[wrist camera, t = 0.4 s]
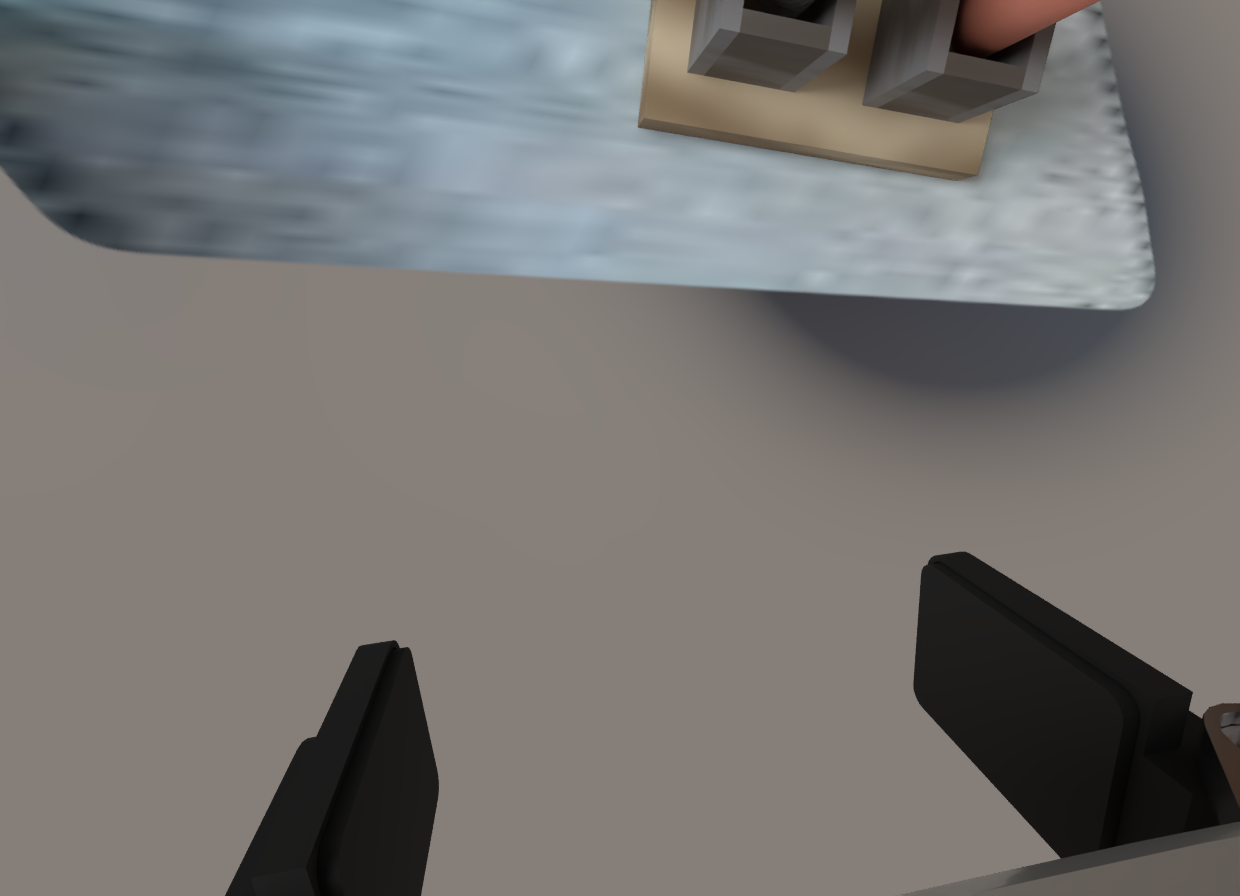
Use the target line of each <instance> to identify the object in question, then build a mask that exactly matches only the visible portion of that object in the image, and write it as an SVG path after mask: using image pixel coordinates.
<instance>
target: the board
mask: <svg viewBox="0 0 1240 896" xmlns="http://www.w3.org/2000/svg"><path fill="white" fill-rule="evenodd" d="M959 2H960V0H815V1H814V2H813V3H812V4H811V5H810V6H809V7H808V8H807V9H806V10H805V11H804V12H803V13H802V14H800V15H799V16H797V17H795V18H792V19H791V18H787V17H782V16H777V15H772V14H768V13H764V12H763V11H761V9H760V8H759V7H758V6H757V4H756V3H755V1H754V0H651V9H650V19H649V28H648V37H647V46H646V55H645V65H644V74H643V83H642V92H641V102H640V111H639V120H638V127H640V128H646V129H652V130H658V131H664V132H670V133H676V134H682V135H688V136H694V137H700V138H706V139H712V140H718V141H724V142H730V143H736V144H742V145H748V146H754V147H759V148H765V149H771V150H777V151H783V152H789V153H795V154H801V155H807V156H813V157H819V158H825V159H831V160H837V161H843V162H849V163H855V164H861V165H867V166H872V167H878V168H884V169H890V170H896V171H902V172H908V173H914V174H920V175H926V176H932V177H938V178H944V179H950V180H960V179H964V178H968V177H972V176H976V175H978V172H979V168H980V164H981V160H982V156H983V152H984V147H985V143H986V139H987V135H988V131H989V127H990V123H991V119H992V115H993V111H994V109H997V108H1000V107H1002V106H1005V105H1007V104H1010V103H1013V102H1015V101H1018V100H1020V99H1023V98H1026V97H1028V96H1031V95H1034V94H1036V93H1038V91H1039V87H1040V83H1041V79H1042V75H1043V71H1044V67H1045V64H1046V60H1047V56H1048V52H1049V48H1050V44H1051V40H1052V36H1053V33H1054V29H1055V25H1056V23H1054V24H1052V25H1050V26H1048V27H1046V28H1044V29H1042V30H1040V31H1038V32H1036V33H1034V34H1032V35H1030V36H1028V37H1026V38H1024V39H1022V40H1020V41H1018V42H1016V43H1014V44H1012V45H1010V46H1008V47H1006V48H1004V49H1002V50H1000V51H998V52H996V53H994V54H992V55H990V56H988V57H986V58H984V59H981V58H977V57H972V56H967V55H962V54H958V53H957V52H956V51H955V50H954V48H953V46H952V45H951V38H952V34H953V29H954V25H955V20H956V16H957V11H958V7H959Z"/></svg>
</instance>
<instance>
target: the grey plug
mask: <svg viewBox="0 0 1240 896" xmlns="http://www.w3.org/2000/svg"><path fill="white" fill-rule="evenodd" d="M754 1H755V3H756V4H757V6H758V7H759V8H760V9H761V11H763V12H764V13H768V14H772V15H777V16H782V17H787V18H791V19H792V18H795V17H797V16H799V15H800V14H802V13H803V12H804V11H805V10H806V9H807V8H808V7H809V6H810V5H811V4H812V3H813V2H814V1H815V0H754Z"/></svg>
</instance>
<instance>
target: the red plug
mask: <svg viewBox="0 0 1240 896" xmlns="http://www.w3.org/2000/svg"><path fill="white" fill-rule="evenodd" d="M1098 1H1100V0H960V2H959V7H958V11H957V16H956V20H955V25H954V29H953V34H952V38H951V45H952V46H953V48H954V50H955V51H956V52H957V53H958V54H962V55H967V56H972V57H977V58H981V59H984V58H986V57H988V56H990V55H992V54H994V53H996V52H998V51H1000V50H1002V49H1004V48H1006V47H1008V46H1010V45H1012V44H1014V43H1016V42H1018V41H1020V40H1022V39H1024V38H1026V37H1028V36H1030V35H1032V34H1034V33H1036V32H1038V31H1040V30H1042V29H1044V28H1046V27H1048V26H1050V25H1052V24H1054V23H1056V22H1058V21H1060V20H1062V19H1064V18H1066V17H1068V16H1070V15H1072V14H1074V13H1076V12H1078V11H1080V10H1082V9H1084V8H1086V7H1088V6H1090V5H1092V4H1094V3H1096V2H1098Z"/></svg>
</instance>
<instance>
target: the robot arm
mask: <svg viewBox="0 0 1240 896" xmlns="http://www.w3.org/2000/svg"><path fill="white" fill-rule="evenodd" d="M914 692H915V695H916V698H917V700H918V702H919V704H920V705H921V706H922V707H923V709H924V710H925V711H926V712H927V713H928V714H929V715H930V716H931V717H932V718H933V719H934V721H935V722H936V723H937V724H938V725H939V726H940V727H941V728H942V729H943V730H944V731H945V733H946V734H947V735H948V736H949V737H950V738H951V739H952V740H953V741H954V742H955V744H956V745H957V746H958V747H959V748H960V749H961V750H962V751H963V752H964V753H965V754H966V755H967V757H968V758H969V759H970V760H971V761H972V762H973V763H974V764H975V765H976V766H977V767H978V769H979V770H980V771H981V772H982V773H983V774H984V775H985V776H986V777H987V778H988V779H989V780H990V782H991V783H992V784H993V785H994V786H995V787H996V788H997V789H998V790H999V791H1000V792H1001V794H1002V795H1003V796H1004V797H1005V798H1006V799H1007V800H1008V801H1009V802H1010V803H1011V804H1012V805H1013V806H1014V808H1015V809H1016V810H1017V811H1018V812H1019V813H1020V814H1021V815H1022V816H1023V817H1024V819H1025V820H1026V821H1027V822H1028V823H1029V824H1030V825H1031V826H1032V827H1033V828H1034V829H1035V830H1036V832H1037V833H1038V834H1039V835H1040V836H1041V837H1042V838H1043V839H1044V840H1045V841H1046V842H1047V843H1048V844H1049V846H1050V847H1051V848H1052V849H1053V850H1054V851H1055V852H1056V853H1057V854H1058V855H1059V857H1060V858H1061V859H1058V860H1053V861H1049V862H1044V863H1040V864H1035V865H1031V866H1026V867H1022V868H1017V869H1012V870H1008V871H1004V872H999V873H994V874H991V875H986V876H981V877H976V878H972V879H968V880H963V881H959V882H955V883H950V884H946V885H941V886H937V887H932V888H928V889H924V890H919V891H915V892H911V893H906V894H902V895H897V896H1240V703H1226V704H1225V703H1222V704H1218V705H1215V706H1212V707H1209V708H1208V709H1207V711H1206V712H1205V713H1204V714H1203V718H1202V719H1201V718H1200V717H1198V716H1197V715H1195V714H1194V713H1192V712H1191V711H1189V706H1190V702H1191V698H1192V694H1193V692H1192V691H1190V690H1189V689H1187V688H1185V687H1184V686H1182V685H1180V684H1179V683H1177V682H1176V681H1174V680H1172V679H1171V678H1169V677H1168V676H1166V675H1164V674H1163V673H1161V672H1160V671H1158V670H1156V669H1154V668H1153V667H1152V666H1150V665H1148V664H1147V663H1145V662H1144V661H1142V660H1140V659H1139V658H1137V657H1136V656H1134V655H1132V654H1130V653H1129V652H1127V651H1126V650H1124V649H1122V648H1121V647H1119V646H1118V645H1116V644H1114V643H1113V642H1111V641H1110V640H1108V639H1106V638H1105V637H1103V636H1102V635H1100V634H1098V633H1097V632H1095V631H1094V630H1092V629H1090V628H1089V627H1087V626H1086V625H1084V624H1082V623H1081V622H1079V621H1078V620H1076V619H1074V618H1073V617H1071V616H1070V615H1068V614H1066V613H1065V612H1063V611H1061V610H1060V609H1058V608H1056V607H1055V606H1053V605H1052V604H1050V603H1049V602H1047V601H1045V600H1044V599H1042V598H1040V597H1039V596H1037V595H1036V594H1034V593H1032V592H1031V591H1029V590H1028V589H1026V588H1024V587H1023V586H1021V585H1020V584H1017V583H1016V582H1015V581H1013V580H1012V579H1010V578H1008V577H1007V576H1005V575H1003V574H1002V573H1000V572H998V571H997V570H995V569H994V568H992V567H991V566H989V565H987V564H986V563H984V562H983V561H981V560H979V559H978V558H976V557H975V556H973V555H971V554H969V553H967V552H956V553H949V554H943V555H936V556H933V557H932V558H931V559H930V560H929V562H928V565H926V566H924V567H923V569H922V573H921V585H920V599H919V614H918V627H917V642H916V655H915V669H914ZM438 791H439V780H438V772H437V767H436V763H435V758H434V753H433V749H432V745H431V740H430V735H429V731H428V726H427V721H426V717H425V712H424V708H423V703H422V699H421V694H420V690H419V685H418V680H417V676H416V671H415V667H414V662H413V657H412V653H411V651H410V649H409V648H408V647H405V648H399V645H398V643H397V642H396V641H395V640H393V641H387V642H380V643H374V644H367V645H362V646H359V647H358V649H357V650H356V653H355V655H354V657H353V659H352V661H351V663H350V666H349V668H348V670H347V672H346V674H345V676H344V678H343V681H342V683H341V685H340V687H339V689H338V691H337V694H336V696H335V698H334V700H333V702H332V704H331V706H330V709H329V711H328V713H327V715H326V717H325V719H324V722H323V723H322V726H321V728H320V730H319V732H318V734H317V736H316V737H312V738H307V739H306V740H304V741H303V742H302V743H301V745H300V746H299V748H298V749H297V751H296V753H295V755H294V757H293V759H292V761H291V763H290V765H289V767H288V769H287V771H286V773H285V775H284V777H283V779H282V781H281V783H280V785H279V787H278V789H277V792H276V793H275V796H274V798H273V800H272V802H271V804H270V806H269V808H268V810H267V812H266V814H265V816H264V818H263V820H262V822H261V824H260V826H259V828H258V830H257V832H256V834H255V836H254V838H253V840H252V842H251V844H250V846H249V848H248V850H247V852H246V854H245V856H244V858H243V860H242V863H241V864H240V867H239V868H238V870H237V873H236V875H235V877H234V879H233V881H232V883H231V885H230V887H229V889H228V891H227V893H226V895H225V896H421V892H422V886H423V881H424V875H425V869H426V863H427V858H428V852H429V847H430V841H431V835H432V830H433V824H434V818H435V812H436V807H437V801H438Z"/></svg>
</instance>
